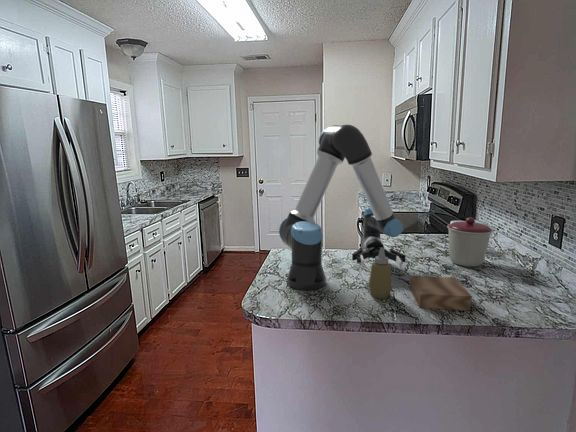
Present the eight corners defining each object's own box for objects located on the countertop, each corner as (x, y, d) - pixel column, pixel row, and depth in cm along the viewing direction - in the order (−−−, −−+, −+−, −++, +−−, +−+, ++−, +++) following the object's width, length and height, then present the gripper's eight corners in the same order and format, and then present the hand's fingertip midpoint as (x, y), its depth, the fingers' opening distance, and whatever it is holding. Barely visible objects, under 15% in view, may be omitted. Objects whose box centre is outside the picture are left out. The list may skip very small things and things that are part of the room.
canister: (497, 265, 156) (502, 218, 152) (474, 273, 147) (479, 224, 142) (458, 254, 171) (463, 211, 167) (435, 261, 162) (439, 216, 157)
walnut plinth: (419, 307, 117) (420, 293, 116) (409, 288, 133) (410, 275, 132) (470, 310, 115) (471, 296, 114) (453, 290, 131) (455, 277, 130)
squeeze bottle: (393, 293, 128) (396, 246, 124) (388, 302, 121) (391, 252, 117) (371, 289, 132) (373, 243, 128) (365, 298, 125) (367, 249, 121)
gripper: (403, 256, 149) (415, 275, 129) (344, 254, 152) (346, 273, 131) (404, 239, 148) (417, 256, 127) (344, 238, 150) (347, 253, 130)
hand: (381, 264), depth 129 cm, fingers open, 13 cm apart
